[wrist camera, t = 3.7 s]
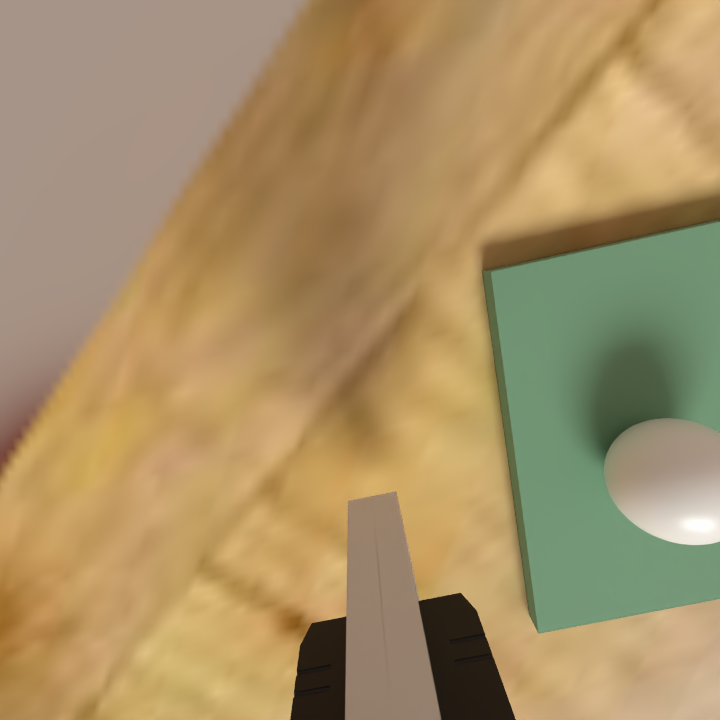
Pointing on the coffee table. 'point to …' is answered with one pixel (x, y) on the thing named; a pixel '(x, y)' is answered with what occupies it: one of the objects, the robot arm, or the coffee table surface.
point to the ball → (668, 479)
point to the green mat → (603, 413)
